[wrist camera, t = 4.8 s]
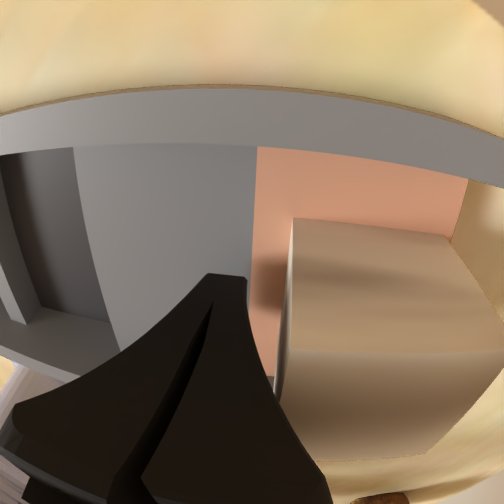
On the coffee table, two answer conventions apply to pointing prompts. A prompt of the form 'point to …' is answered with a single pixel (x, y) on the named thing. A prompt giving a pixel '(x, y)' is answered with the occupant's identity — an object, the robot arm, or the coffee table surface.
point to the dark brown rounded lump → (383, 499)
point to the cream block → (380, 340)
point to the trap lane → (200, 203)
